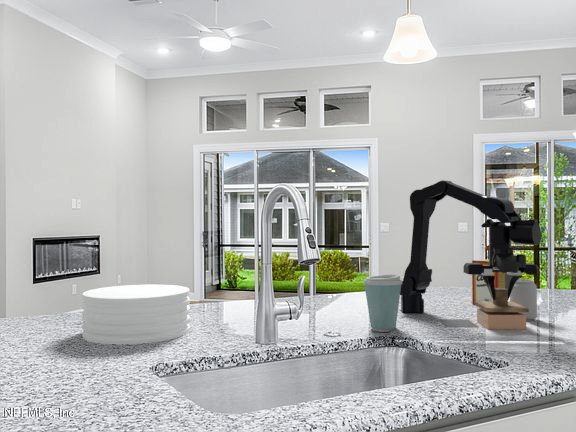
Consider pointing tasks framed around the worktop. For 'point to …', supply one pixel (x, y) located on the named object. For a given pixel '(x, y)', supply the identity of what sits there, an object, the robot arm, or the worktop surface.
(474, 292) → the baking soda box
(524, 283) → the can
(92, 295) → the plate stack
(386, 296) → the disposable coffee cup
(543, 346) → the worktop surface
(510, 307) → the lid
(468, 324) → the mat
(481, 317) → the dish
